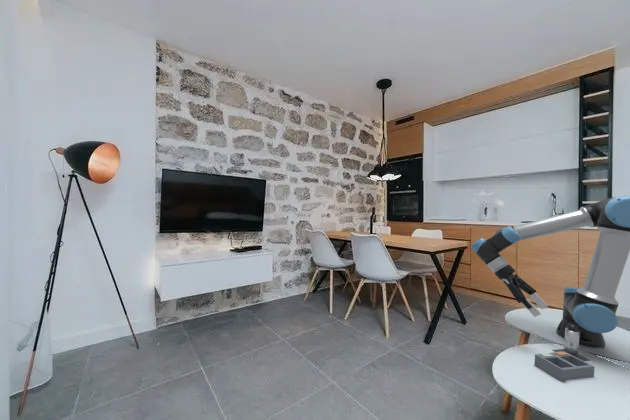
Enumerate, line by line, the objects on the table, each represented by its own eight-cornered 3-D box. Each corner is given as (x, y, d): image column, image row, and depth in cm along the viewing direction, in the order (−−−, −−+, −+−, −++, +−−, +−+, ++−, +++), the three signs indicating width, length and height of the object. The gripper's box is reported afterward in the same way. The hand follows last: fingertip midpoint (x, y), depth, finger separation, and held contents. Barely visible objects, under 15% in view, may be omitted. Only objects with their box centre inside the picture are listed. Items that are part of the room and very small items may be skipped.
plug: (568, 351, 103) (570, 322, 102) (580, 357, 99) (582, 327, 99) (561, 352, 102) (562, 323, 102) (572, 358, 98) (574, 328, 98)
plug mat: (566, 349, 105) (567, 348, 105) (591, 361, 97) (591, 360, 97) (551, 351, 104) (551, 350, 104) (574, 363, 96) (575, 362, 96)
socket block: (563, 361, 97) (564, 350, 97) (593, 377, 88) (594, 365, 88) (534, 364, 94) (535, 353, 94) (562, 381, 85) (563, 368, 85)
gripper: (502, 269, 128) (539, 308, 117) (484, 276, 113) (525, 323, 101) (516, 260, 124) (556, 300, 113) (499, 267, 108) (544, 314, 97)
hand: (541, 311), depth 107 cm, fingers open, 13 cm apart
